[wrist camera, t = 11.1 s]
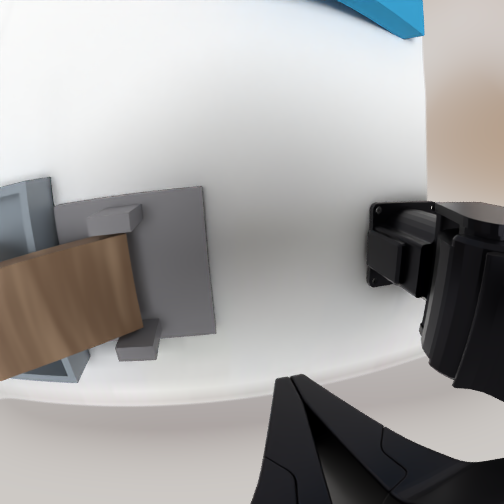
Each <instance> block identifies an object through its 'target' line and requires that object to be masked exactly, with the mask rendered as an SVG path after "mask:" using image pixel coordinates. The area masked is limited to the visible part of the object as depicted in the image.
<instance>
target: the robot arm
mask: <svg viewBox="0 0 504 504" xmlns="http://www.w3.org/2000/svg"><path fill="white" fill-rule="evenodd" d="M431 206H432V209H431ZM377 207H379V211H378V212H376V208H377ZM367 265H368V272H367V283H368V285H370V286H371V287H379V286H384V285H390V284H395V285H399V286H400V287H402V288H403V289H405V290H406V291H408V292H409V293H410V294H412V295H413V296H415V297H416V298H420V297H421V298H423V299H424V300H426V305H425V310H424V316H423V321H422V323H421V324H420V328H419V332H420V334H421V336H422V337H421V342H422V348H423V350H424V352H425V353H426V355H427V356H428V358H429V364H430V366H431V367H433V368H434V369H435V370H436V371H438V372H439V373H441V374H443V375H445V376H446V377H448V378H450V379H453V380H454V381H453V384H452V386H453V387H454V388H464V389H472V390H476V391H480V392H484V393H486V394H488V395H491V396H493V397H495V398H497V399H499V400H501V401H503V402H504V207H502V206H497V205H492V204H487V203H482V202H443V203H442V202H438V203H435V202H432V201H411V202H377V203H374V204H372V206H371V209H370V231H369V233H368V251H367ZM374 278H375V281H374V282H372V280H373V279H374ZM383 427H384V426H383V425H382V424H380V423H378V422H377V421H375V420H373V419H372V418H370V417H368V416H367V415H365V414H364V413H362V412H360V411H359V410H357V409H356V408H354V407H353V406H351V405H349V404H348V403H346V402H345V401H343V400H341V399H340V398H338V397H337V396H335V395H334V394H332V393H331V392H329V391H328V390H326V389H325V388H323V387H322V386H320V385H319V384H317V383H316V382H314V381H313V380H311V379H310V378H308V377H307V376H305V375H303V374H299V375H293V376H291V377H290V378H289V377H282V378H277V379H276V380H275V386H274V393H273V400H272V406H271V414H270V419H269V426H268V432H267V438H266V444H265V451H264V456H263V461H262V466H261V472H260V476H259V480H258V484H257V487H256V490H255V493H254V496H253V499H252V501H251V504H504V458H500V459H495V460H489V461H483V462H465V461H460V460H457V459H454V458H451V457H449V456H446V455H444V454H441V453H439V452H436V451H433V450H431V449H429V448H426V447H424V446H421V445H419V444H417V443H415V442H412V441H410V440H408V439H406V438H405V437H403V436H401V435H399V434H397V433H395V432H394V431H392V430H390V429H389V428H387V427H384V428H383Z"/></svg>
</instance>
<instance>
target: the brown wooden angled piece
mask: <svg viewBox="0 0 504 504" xmlns="http://www.w3.org/2000/svg"><path fill="white" fill-rule="evenodd" d="M141 328H143V322H142V318H141V313H140V309H139V304H138V299H137V294H136V289H135V284H134V279H133V273H132V267H131V262H130V256H129V249H128V243H127V236H126V234H125V233H116V234H108V235H99V236H93V237H89V238H85V239H81V240H77V241H73V242H69V243H66V244H62V245H58V246H54V247H51V248H47V249H43V250H40V251H36V252H33V253H29V254H26V255H22V256H19V257H15V258H12V259H8V260H5V261H2V262H0V381H3V380H5V379H8V378H11V377H14V376H17V375H19V374H22V373H25V372H28V371H31V370H33V369H36V368H39V367H42V366H44V365H47V364H50V363H52V362H55V361H58V360H61V359H63V358H66V357H69V356H71V355H74V354H77V353H79V352H82V351H84V350H87V349H90V348H92V347H95V346H97V345H100V344H103V343H105V342H108V341H110V340H113V339H116V338H118V337H121V336H123V335H126V334H128V333H131V332H133V331H136V330H138V329H141Z"/></svg>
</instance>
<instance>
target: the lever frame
mask: <svg viewBox="0 0 504 504" xmlns="http://www.w3.org/2000/svg"><path fill="white" fill-rule="evenodd" d="M54 214H55V221H56V227H57V233H58V239H59V244H60V245H62V244H66V243H69V242H73V241H77V240H81V239H85V238H89V237H93V236H99V235H108V234H116V233H125V234H126V236H127V243H128V249H129V256H130V262H131V267H132V273H133V279H134V284H135V289H136V294H137V299H138V304H139V309H140V313H141V318H142V322H143V328H141V329H138V330H136V331H133V332H131V333H128V334H126V335H123V336H121V337H118V338H116V339H113V340H110V341H118V342H117V345H116V347H115V349H116V353H117V356H118V359H119V361H144V360H156V359H157V353H158V347H159V342H160V338H172V337H184V336H195V335H206V334H216V325H215V317H214V309H213V300H212V291H211V282H210V272H209V263H208V252H207V242H206V231H205V220H204V208H203V195H202V186H197V187H186V188H177V189H167V190H158V191H150V192H141V193H133V194H126V195H118V196H111V197H104V198H97V199H91V200H84V201H78V202H72V203H66V204H60V205H57V206H54Z"/></svg>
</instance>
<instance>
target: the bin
mask: <svg viewBox="0 0 504 504" xmlns="http://www.w3.org/2000/svg"><path fill="white" fill-rule="evenodd" d="M58 245H60V244H59V239H58V233H57V227H56V221H55V214H54V204H53V196H52V188H51V178H50V177H47V178H40V179H34V180H28V181H23V182H19V183H15V184H11V185H7V186H4V187H0V262H2V261H5V260H8V259H12V258H15V257H19V256H22V255H26V254H29V253H33V252H36V251H40V250H43V249H47V248H51V247H54V246H58ZM89 358H90V355H89V352H88V349H87V350H84V351H82V352H79V353H77V354H74V355H71V356H69V357H66V358H63V359H61V360H58V361H55V362H52V363H50V364H47V365H44V366H42V367H39V368H36V369H33V370H31V371H28V372H25V373H22V374H19V375H17V376H14V377H11V378H14V379H23V380H34V381H48V382H66V383H78V382H79V379H80V377H81V375H82V373H83V371H84V368H85V366H86V364H87V362H88V360H89Z"/></svg>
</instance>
